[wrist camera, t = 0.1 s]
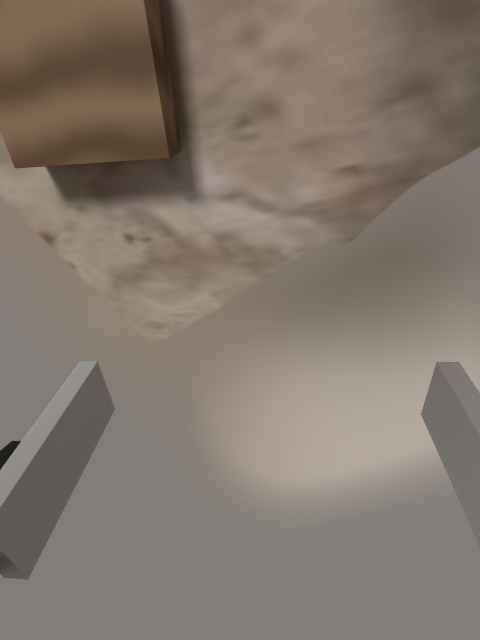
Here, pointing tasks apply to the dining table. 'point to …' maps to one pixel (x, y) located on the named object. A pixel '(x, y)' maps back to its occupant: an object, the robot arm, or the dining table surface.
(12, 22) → the walnut block
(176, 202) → the dining table surface
